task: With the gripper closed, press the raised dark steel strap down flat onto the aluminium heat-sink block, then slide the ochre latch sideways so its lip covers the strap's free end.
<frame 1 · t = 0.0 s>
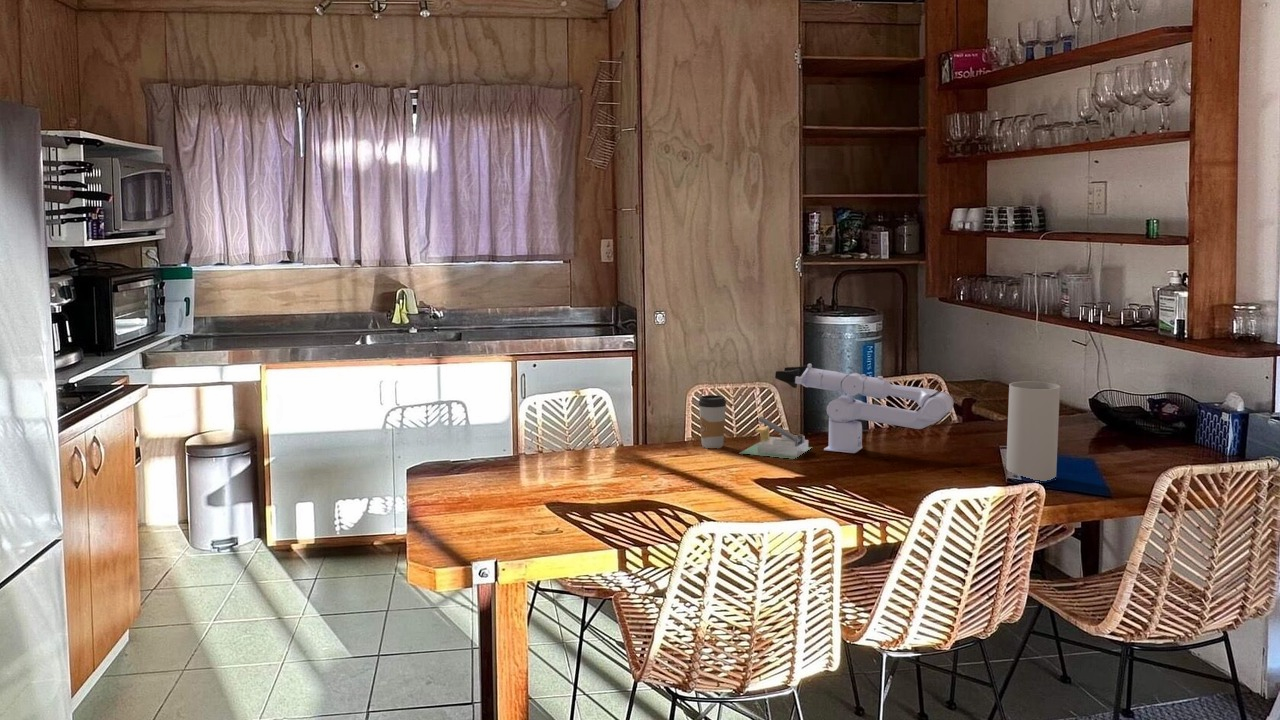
hand: (780, 372, 348), 22 cm above the table, tool horizontal, fingers open, 7 cm apart
heatsink block: (783, 451, 339), resting on pcb mat
latch: (762, 437, 346), point 3 cm above the table, slide at 0.0 cm
cylinder vase: (1030, 479, 306), on the table
coffee cup: (712, 447, 348), on the table
pcb mat: (776, 451, 341), on the table
strap: (779, 429, 339), point 7 cm above the table, hinge at 25.0°
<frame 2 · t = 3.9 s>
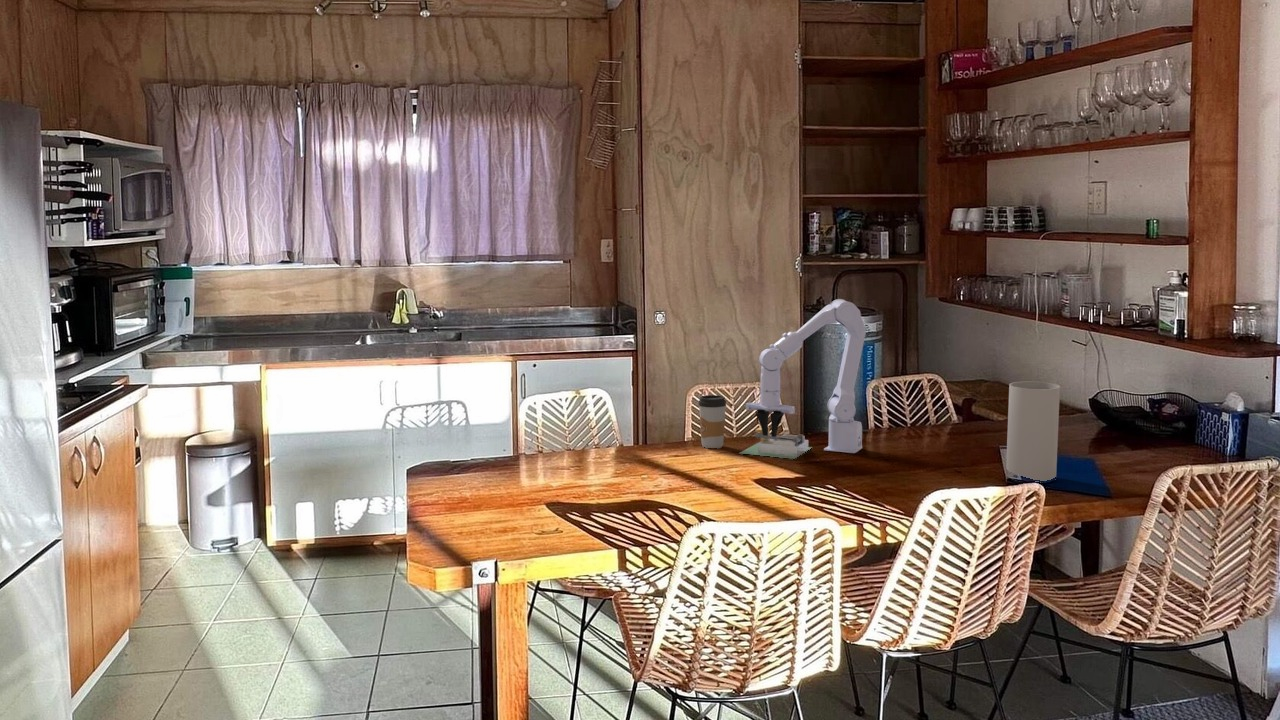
hand: (769, 435, 340), 5 cm above the table, tool pointing down, fingers closed on strap, 2 cm apart
strap: (777, 437, 339), point 4 cm above the table, hinge at 2.4°, touching gripper
everything else where it was.
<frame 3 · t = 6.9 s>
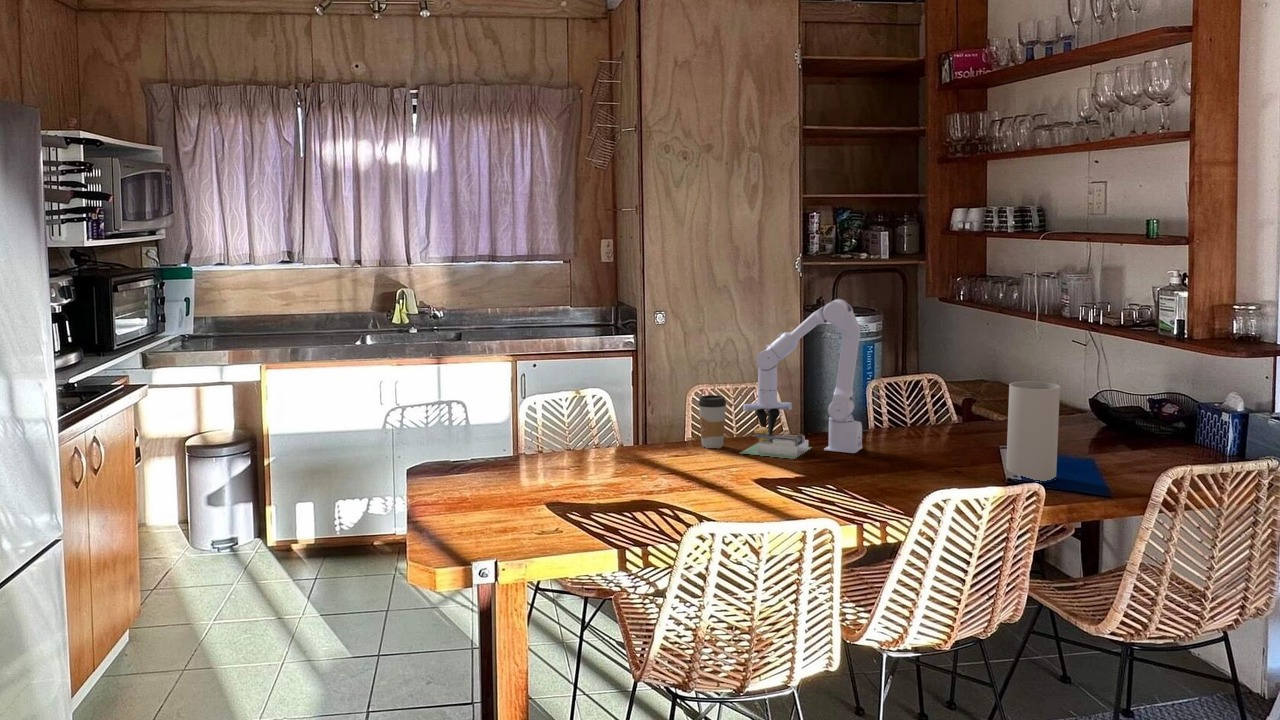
hand: (767, 433, 349), 3 cm above the table, tool pointing down, fingers closed
latch: (761, 437, 345), point 3 cm above the table, slide at 1.0 cm, touching gripper
strap: (777, 437, 339), point 4 cm above the table, hinge at 2.3°
everything else where it was.
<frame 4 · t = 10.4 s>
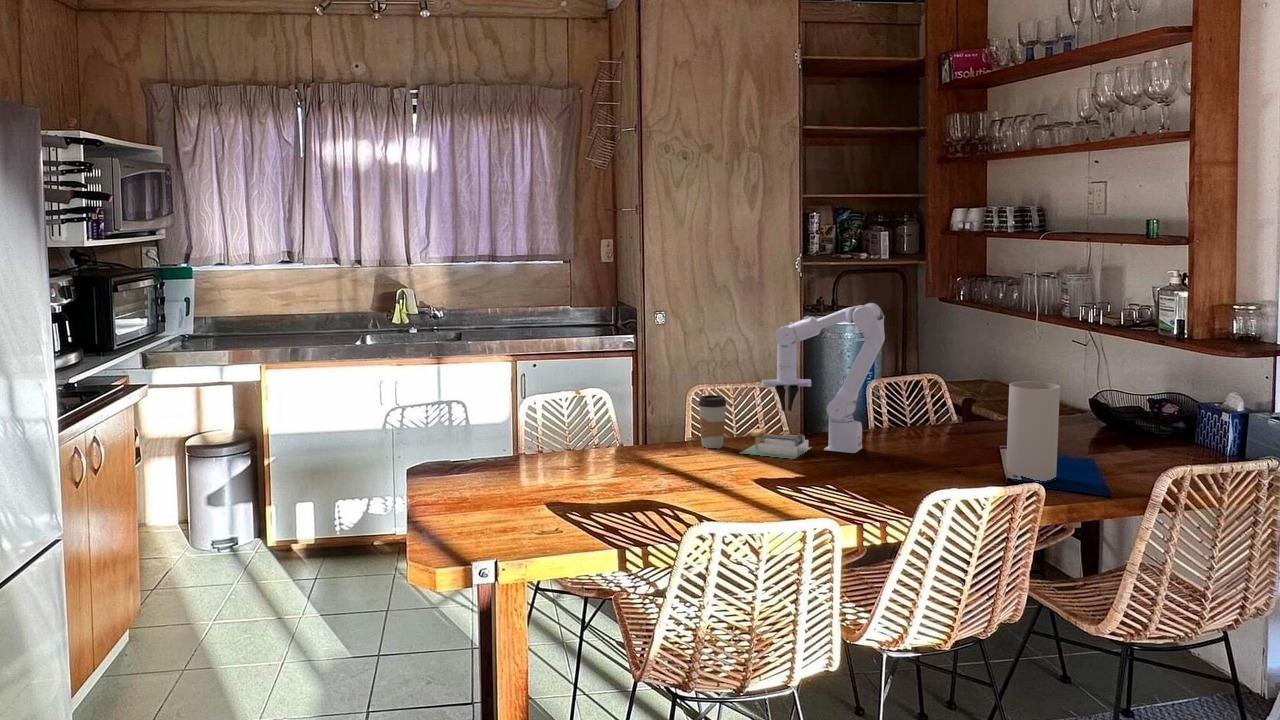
hand: (786, 410, 349), 10 cm above the table, tool pointing down, fingers closed
latch: (757, 439, 342), point 3 cm above the table, slide at 4.0 cm
everything else where it was.
at the end: strap at +2° (first picture: +25°); latch slide at 4.0 cm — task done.
